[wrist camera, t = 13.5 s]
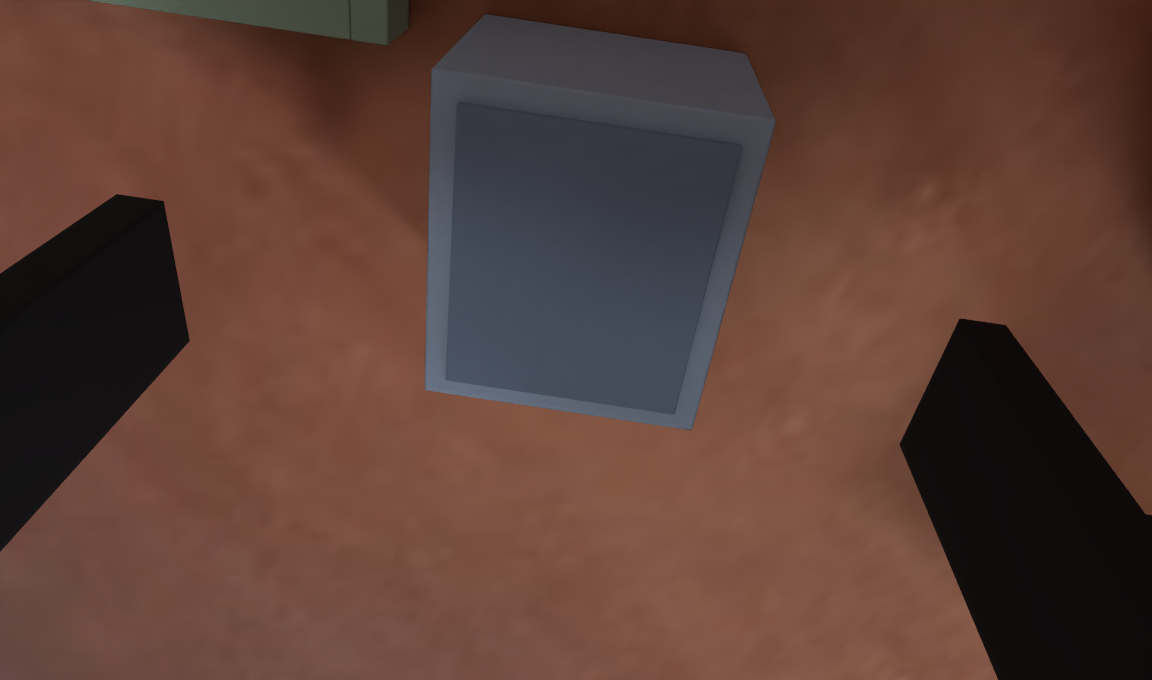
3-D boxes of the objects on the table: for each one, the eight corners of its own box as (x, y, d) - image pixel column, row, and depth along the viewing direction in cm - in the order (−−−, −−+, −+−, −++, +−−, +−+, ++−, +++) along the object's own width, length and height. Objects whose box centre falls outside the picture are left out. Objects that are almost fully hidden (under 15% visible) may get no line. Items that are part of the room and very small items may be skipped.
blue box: (746, 53, 17) (778, 123, 13) (684, 315, 21) (692, 436, 17) (483, 13, 17) (428, 70, 13) (468, 282, 21) (422, 395, 17)
